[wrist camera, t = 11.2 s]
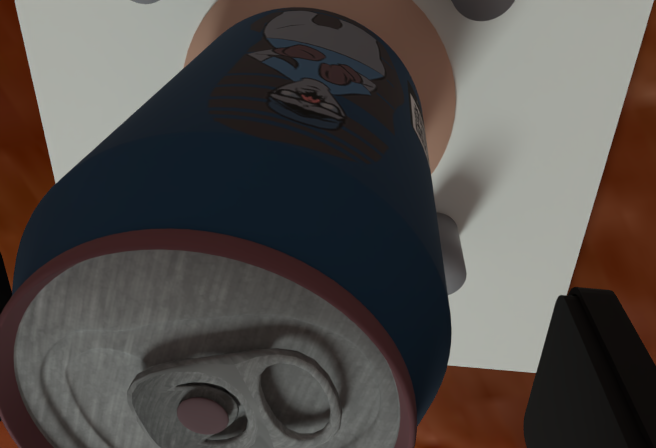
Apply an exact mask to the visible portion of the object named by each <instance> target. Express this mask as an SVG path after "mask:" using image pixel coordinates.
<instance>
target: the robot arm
mask: <svg viewBox="0 0 656 448" xmlns="http://www.w3.org/2000/svg"><path fill="white" fill-rule="evenodd" d="M11 297H12V291H11V288H10V284H9V280H8V277H7V273H6V269H5V266H4V262H3V259H2V255H1V253H0V314H1V313H2V311H3V309H4V307H5V305H6V304H7V303H8V301H9V300H10V298H11ZM1 420H2V419H1V417H0V421H1ZM524 437H525V442H526V446H527V448H656V366H655V364H654V362H653V360H652V359H651V357H650V355H649V353H648V351H647V350H646V348H645V346H644V344H643V343H642V341H641V339H640V337H639V335H638V334H637V332H636V330H635V328H634V327H633V325H632V323H631V321H630V320H629V318H628V316H627V314H626V312H625V311H624V309H623V307H622V305H621V304H620V302H619V300H618V298H617V296H616V295H615V294H614V292H613V291H610V290H602V289H591V288H579V287H574V288H572V289H571V290H570V292H569V294H568V296H566V295H560V296H558V298H557V300H556V303H555V306H554V310H553V313H552V317H551V321H550V324H549V328H548V332H547V335H546V339H545V343H544V346H543V350H542V354H541V357H540V361H539V365H538V368H537V372H536V376H535V379H534V383H533V387H532V390H531V394H530V398H529V401H528V405H527V409H526V412H525V417H524Z"/></svg>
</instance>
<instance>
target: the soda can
mask: <svg viewBox="0 0 656 448" xmlns="http://www.w3.org/2000/svg"><path fill="white" fill-rule="evenodd" d="M451 335H452V327H451V314H450V307H449V300H448V292H447V285H446V278H445V271H444V264H443V256H442V249H441V242H440V235H439V228H438V220H437V213H436V206H435V199H434V192H433V184H432V177H431V170H430V163H429V156H428V148H427V141H426V134H425V127H424V120H423V113H422V107H421V102H420V98H419V95H418V92H417V89H416V86H415V84H414V82H413V80H412V77H411V76H410V74H409V72H408V70H407V68H406V67H405V65H404V64H403V62H402V61H401V59H400V58H399V57H398V56H397V54H396V53H395V52H394V51H393V50H392V49H391V48H390V46H389V45H388V44H387V43H385V42H384V41H383V40H382V39H381V38H380V37H379V36H377V35H376V34H375V33H374V32H372V31H371V30H369V29H368V28H366V27H365V26H363V25H361V24H360V23H358V22H356V21H354V20H352V19H350V18H347V17H345V16H342V15H340V14H337V13H334V12H330V11H326V10H321V9H316V8H306V7H289V8H280V9H273V10H269V11H265V12H262V13H259V14H256V15H253V16H251V17H248V18H246V19H244V20H242V21H240V22H238V23H236V24H235V25H233V26H232V27H230V28H229V29H227V30H226V31H225V32H224V33H222V34H221V35H220V36H219V37H218V38H217V39H215V40H214V41H213V42H212V43H211V44H210V45H209V46H208V47H207V48H205V49H204V50H203V51H202V52H201V53H200V54H199V55H198V56H197V57H195V58H194V59H193V60H192V61H191V62H190V63H189V64H188V65H187V66H186V67H184V68H183V69H182V70H181V71H180V72H179V73H178V74H177V75H176V76H174V77H173V78H172V79H171V80H170V81H169V82H168V83H167V84H166V85H164V86H163V87H162V88H161V89H160V90H159V91H158V92H157V93H156V94H154V95H153V96H152V97H151V98H150V99H149V100H148V101H147V102H146V103H144V104H143V105H142V106H141V107H140V108H139V109H138V110H137V111H136V112H134V113H133V114H132V115H131V116H130V117H129V118H128V119H127V120H126V121H124V122H123V123H122V124H121V125H120V126H119V127H118V128H117V129H116V130H114V131H113V132H112V133H111V134H110V135H109V136H108V137H107V138H106V139H104V140H103V141H102V142H101V143H100V144H99V145H98V146H97V147H96V148H94V149H93V150H92V151H91V152H90V153H89V154H88V155H87V156H86V157H84V158H83V159H82V160H81V161H80V162H79V163H78V164H77V165H76V166H74V167H73V168H72V169H71V170H70V171H69V172H68V173H67V174H66V175H65V176H63V177H62V178H61V179H60V180H59V181H58V182H57V183H56V184H55V185H54V186H53V187H52V188H51V189H50V190H49V191H48V193H47V194H46V195H45V196H44V197H43V199H42V200H41V201H40V203H39V204H38V206H37V207H36V209H35V210H34V212H33V214H32V216H31V218H30V220H29V222H28V223H27V225H26V228H25V230H24V233H23V236H22V238H21V241H20V245H19V249H18V253H17V258H16V264H15V271H14V279H13V289H12V297H11V298H10V300H9V301H8V303H7V304H6V305H5V307H4V309H3V311H2V313H1V314H0V417H1V419H2V421H3V423H4V425H5V427H6V429H7V431H8V432H9V434H10V435H11V437H12V439H13V440H14V441H15V443H16V444H17V446H18V447H19V448H414V446H415V441H416V432H417V426H418V424H419V423H420V421H421V420H422V418H423V416H424V415H425V413H426V411H427V410H428V408H429V406H430V405H431V403H432V401H433V400H434V398H435V396H436V394H437V392H438V390H439V387H440V385H441V383H442V380H443V378H444V375H445V372H446V368H447V364H448V360H449V356H450V348H451Z"/></svg>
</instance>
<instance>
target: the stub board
mask: <svg viewBox="0 0 656 448" xmlns="http://www.w3.org/2000/svg"><path fill="white" fill-rule="evenodd" d="M653 1H654V0H15V4H16V9H17V13H18V18H19V22H20V26H21V31H22V35H23V40H24V44H25V49H26V53H27V58H28V62H29V67H30V71H31V75H32V80H33V84H34V89H35V93H36V98H37V102H38V107H39V111H40V115H41V120H42V124H43V129H44V133H45V138H46V142H47V147H48V151H49V155H50V160H51V164H52V169H53V173H54V178H55V182H56V183H57V182H58V181H59V180H60V179H61V178H62V177H63V176H65V175H66V174H67V173H68V172H69V171H70V170H71V169H72V168H73V167H74V166H76V165H77V164H78V163H79V162H80V161H81V160H82V159H83V158H84V157H86V156H87V155H88V154H89V153H90V152H91V151H92V150H93V149H94V148H96V147H97V146H98V145H99V144H100V143H101V142H102V141H103V140H104V139H106V138H107V137H108V136H109V135H110V134H111V133H112V132H113V131H114V130H116V129H117V128H118V127H119V126H120V125H121V124H122V123H123V122H124V121H126V120H127V119H128V118H129V117H130V116H131V115H132V114H133V113H134V112H136V111H137V110H138V109H139V108H140V107H141V106H142V105H143V104H144V103H146V102H147V101H148V100H149V99H150V98H151V97H152V96H153V95H154V94H156V93H157V92H158V91H159V90H160V89H161V88H162V87H163V86H164V85H166V84H167V83H168V82H169V81H170V80H171V79H172V78H173V77H174V76H176V75H177V74H178V73H179V72H180V71H181V70H182V69H183V68H184V67H186V66H187V65H188V64H189V63H190V62H191V61H192V60H193V59H194V58H195V57H197V56H198V55H199V54H200V53H201V52H202V51H203V50H204V49H205V48H207V47H208V46H209V45H210V44H211V43H212V42H213V41H214V40H215V39H217V38H218V37H219V36H220V35H221V34H222V33H224V32H225V31H226V30H227V29H229V28H230V27H232V26H233V25H235V24H236V23H238V22H240V21H242V20H244V19H246V18H248V17H251V16H253V15H256V14H259V13H262V12H265V11H269V10H273V9H280V8H289V7H306V8H316V9H321V10H326V11H330V12H334V13H337V14H340V15H342V16H345V17H347V18H350V19H352V20H354V21H356V22H358V23H360V24H361V25H363V26H365V27H366V28H368V29H369V30H371V31H372V32H374V33H375V34H376V35H377V36H379V37H380V38H381V39H382V40H383V41H384V42H385V43H387V44H388V45H389V46H390V48H391V49H392V50H393V51H394V52H395V53H396V54H397V56H398V57H399V58H400V59H401V61H402V62H403V64H404V65H405V67H406V68H407V70H408V72H409V74H410V76H411V77H412V80H413V82H414V84H415V86H416V89H417V92H418V95H419V98H420V102H421V107H422V113H423V120H424V127H425V134H426V141H427V148H428V156H429V163H430V170H431V177H432V184H433V192H434V199H435V206H436V213H437V220H438V228H439V235H440V242H441V249H442V256H443V264H444V271H445V278H446V285H447V292H448V300H449V307H450V314H451V327H452V335H451V348H450V356H449V360H448V364H447V365H452V366H463V367H475V368H486V369H498V370H509V371H520V372H532V373H536V372H537V368H538V365H539V361H540V357H541V354H542V350H543V346H544V343H545V339H546V335H547V332H548V328H549V324H550V321H551V317H552V313H553V310H554V306H555V303H556V300H557V298H558V296H560V295H567V292H568V289H569V285H570V282H571V278H572V275H573V272H574V268H575V265H576V262H577V258H578V255H579V251H580V248H581V245H582V241H583V238H584V235H585V231H586V228H587V224H588V221H589V218H590V214H591V211H592V208H593V204H594V201H595V197H596V194H597V191H598V187H599V184H600V181H601V177H602V174H603V170H604V167H605V164H606V160H607V157H608V153H609V150H610V147H611V143H612V140H613V137H614V133H615V130H616V126H617V123H618V120H619V116H620V113H621V110H622V106H623V103H624V99H625V96H626V93H627V89H628V86H629V83H630V79H631V76H632V72H633V69H634V66H635V62H636V59H637V56H638V52H639V49H640V45H641V42H642V39H643V35H644V32H645V28H646V25H647V22H648V18H649V15H650V12H651V8H652V5H653Z"/></svg>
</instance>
